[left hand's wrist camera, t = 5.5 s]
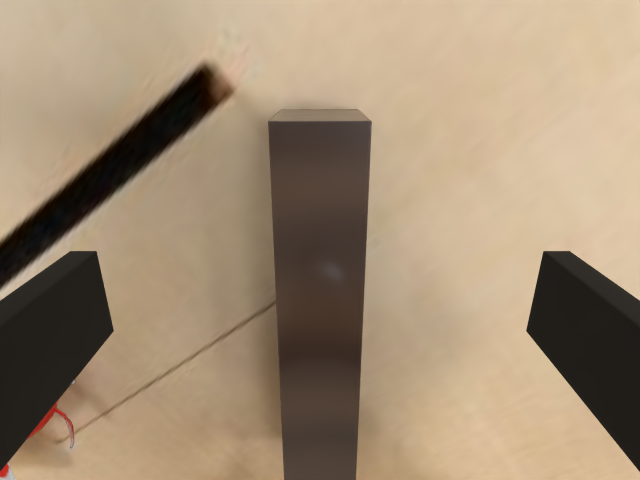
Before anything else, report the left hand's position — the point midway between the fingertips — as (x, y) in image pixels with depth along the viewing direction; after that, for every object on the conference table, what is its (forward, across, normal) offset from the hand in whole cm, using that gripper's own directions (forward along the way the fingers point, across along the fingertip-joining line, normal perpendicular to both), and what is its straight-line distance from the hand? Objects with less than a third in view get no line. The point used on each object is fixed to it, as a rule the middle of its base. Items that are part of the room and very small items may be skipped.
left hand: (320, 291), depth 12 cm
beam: (+17, 0, -10) cm, 19 cm away
